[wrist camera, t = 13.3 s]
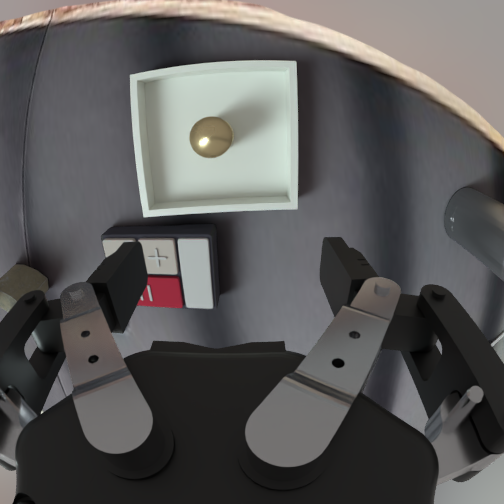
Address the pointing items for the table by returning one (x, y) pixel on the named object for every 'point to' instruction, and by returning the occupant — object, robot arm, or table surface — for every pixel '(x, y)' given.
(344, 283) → the robot arm
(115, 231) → the calculator
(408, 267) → the table surface
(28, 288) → the padlock
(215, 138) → the cylinder
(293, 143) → the tray
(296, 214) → the table surface
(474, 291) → the table surface
